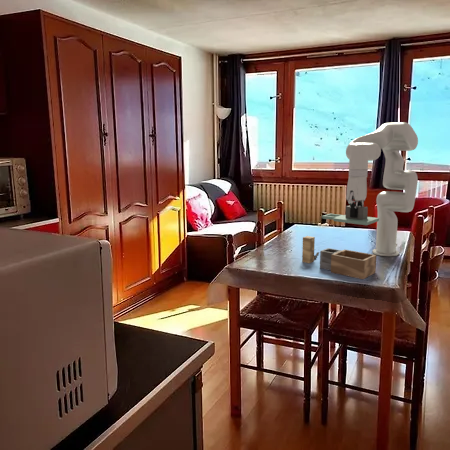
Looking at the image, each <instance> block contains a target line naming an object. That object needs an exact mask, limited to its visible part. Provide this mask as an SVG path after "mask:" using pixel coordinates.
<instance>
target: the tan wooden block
mask: <svg viewBox="0 0 450 450" xmlns="http://www.w3.org/2000/svg"><path fill="white" fill-rule="evenodd" d="M315 238H316V237H315V236H310V235H307V236H303V237H302V256H301V258H302V260H301V262H302V263H305V264H312V263H314V262H315V260H314V255H315V242H316V239H315Z"/></svg>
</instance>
